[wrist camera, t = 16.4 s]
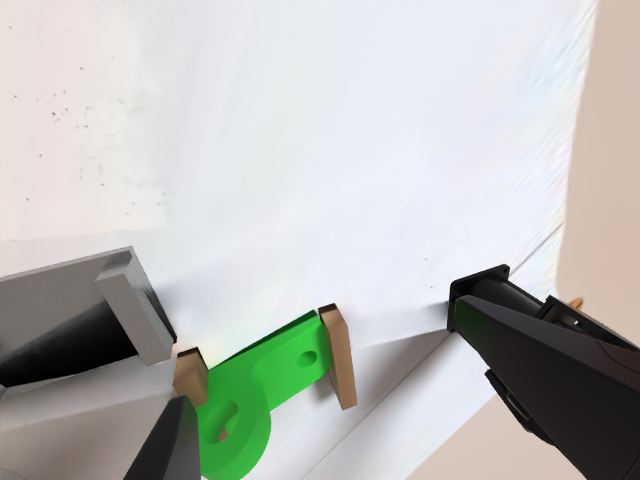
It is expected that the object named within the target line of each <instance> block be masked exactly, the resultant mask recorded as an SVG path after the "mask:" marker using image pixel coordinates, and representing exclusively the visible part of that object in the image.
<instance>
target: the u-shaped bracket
mask: <svg viewBox="0 0 640 480" xmlns="http://www.w3.org/2000/svg"><path fill="white" fill-rule="evenodd" d="M174 343H177V335H176V333H175V331H174V329H173V327H172V325H171V323H170V322H169V320H168V318H167V316H166V314H165V312H164V310H163V308H162V306H161V304H160V302H159V300H158V298H157V296H156V294H155V292H154V290H153V288H152V286H151V284H150V282H149V280H148V278H147V276H146V274H145V272H144V270H143V268H142V266H141V264H140V262H139V260H138V258H137V256H136V254H135V252H134V250H133V248H132V246H129V247H124V248H120V249H116V250H112V251H108V252H104V253H100V254H96V255H92V256H87V257H83V258H79V259H75V260H71V261H67V262H63V263H59V264H55V265H51V266H46V267H42V268H38V269H34V270H30V271H26V272H22V273H18V274H14V275H9V276H5V277H1V278H0V400H1V398H2V397H6V396H9V395H12V394H15V393H18V392H21V391H25V390H28V389H31V388H34V387H37V386H41V385H44V384H47V383H50V382H53V381H57V380H60V379H63V378H66V377H69V376H72V375H76V374H79V373H82V372H85V371H88V370H92V369H95V368H98V367H101V366H104V365H108V364H111V363H114V362H117V361H120V360H123V359H127V358H130V357H133V356H136V355H140V356H141V358H142V360H143V361H144V363H145V365H146V366H150V365H153V364H156V363H159V362H162V361H165V360H168V359H170V358H171V352H172V347H173V344H174Z"/></svg>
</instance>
